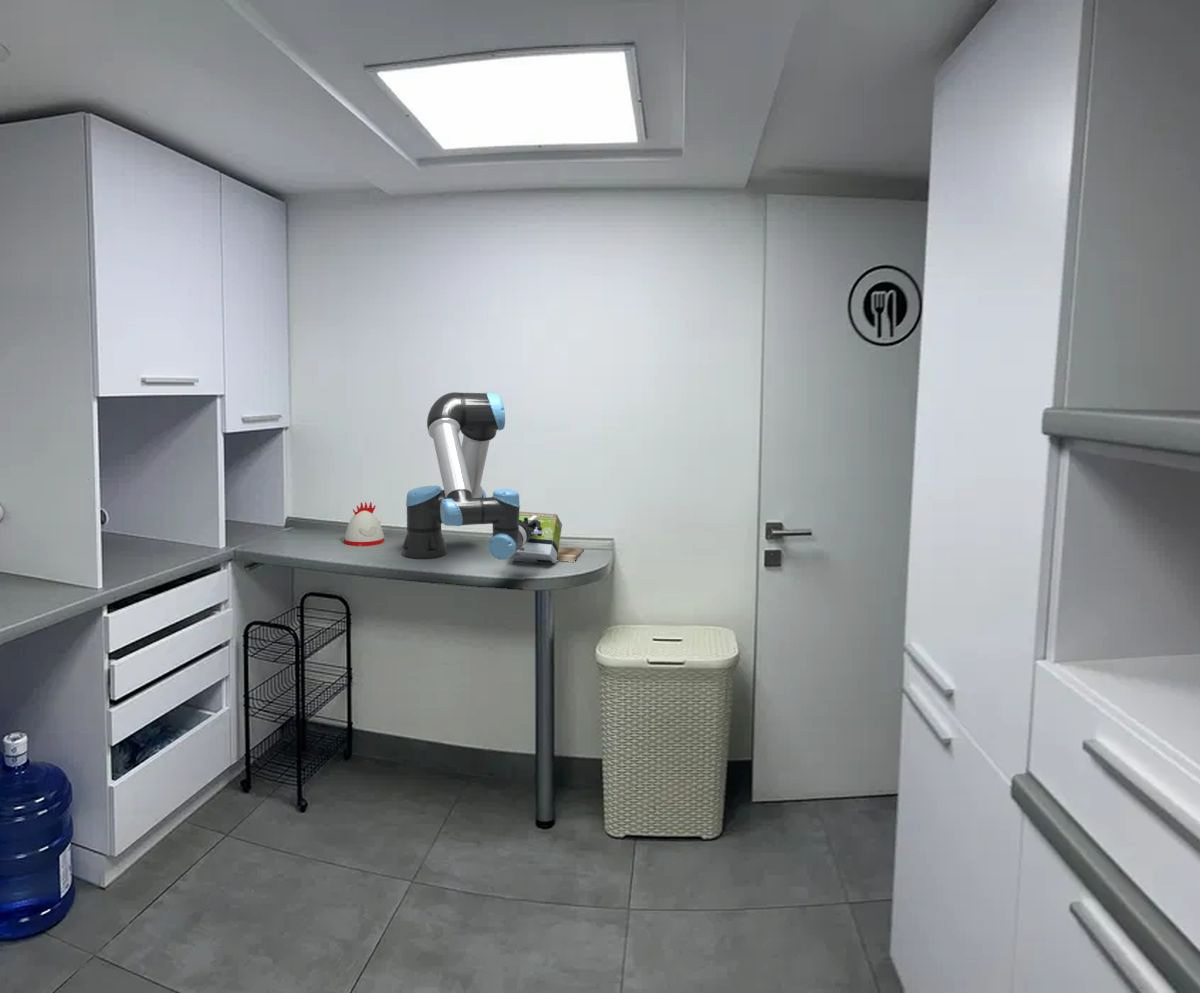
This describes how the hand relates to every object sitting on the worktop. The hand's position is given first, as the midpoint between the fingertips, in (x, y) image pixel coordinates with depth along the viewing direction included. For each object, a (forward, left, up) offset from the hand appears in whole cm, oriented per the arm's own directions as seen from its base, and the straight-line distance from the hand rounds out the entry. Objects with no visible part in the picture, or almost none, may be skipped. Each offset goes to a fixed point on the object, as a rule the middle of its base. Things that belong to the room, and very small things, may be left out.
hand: (535, 519), depth 251 cm
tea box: (-1, -1, -13) cm, 13 cm away
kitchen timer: (-69, +17, -16) cm, 72 cm away
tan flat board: (-1, +16, -15) cm, 22 cm away
